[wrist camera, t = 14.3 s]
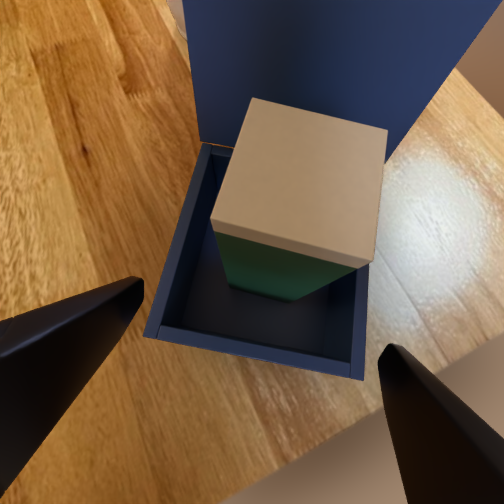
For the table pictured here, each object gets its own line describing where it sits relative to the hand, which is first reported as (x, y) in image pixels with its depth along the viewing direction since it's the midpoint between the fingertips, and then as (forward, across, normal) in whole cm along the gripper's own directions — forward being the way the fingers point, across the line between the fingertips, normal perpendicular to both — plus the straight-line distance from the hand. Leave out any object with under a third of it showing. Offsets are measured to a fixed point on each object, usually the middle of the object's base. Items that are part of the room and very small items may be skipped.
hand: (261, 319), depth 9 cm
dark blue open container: (+12, 0, +4) cm, 12 cm away
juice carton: (+11, 0, +4) cm, 12 cm away
